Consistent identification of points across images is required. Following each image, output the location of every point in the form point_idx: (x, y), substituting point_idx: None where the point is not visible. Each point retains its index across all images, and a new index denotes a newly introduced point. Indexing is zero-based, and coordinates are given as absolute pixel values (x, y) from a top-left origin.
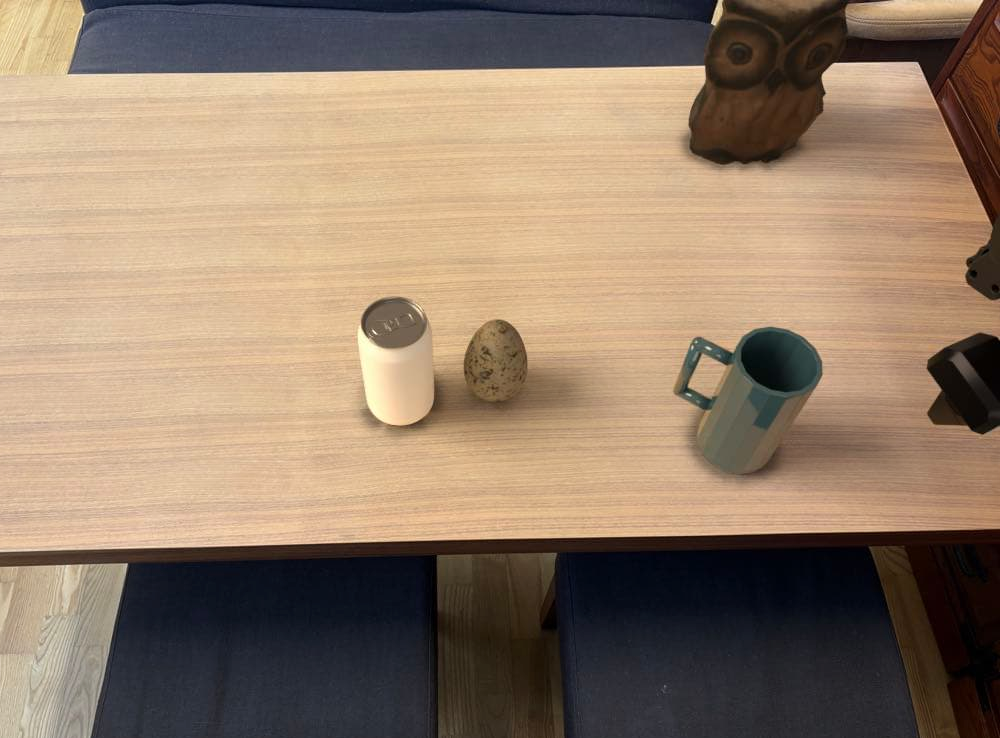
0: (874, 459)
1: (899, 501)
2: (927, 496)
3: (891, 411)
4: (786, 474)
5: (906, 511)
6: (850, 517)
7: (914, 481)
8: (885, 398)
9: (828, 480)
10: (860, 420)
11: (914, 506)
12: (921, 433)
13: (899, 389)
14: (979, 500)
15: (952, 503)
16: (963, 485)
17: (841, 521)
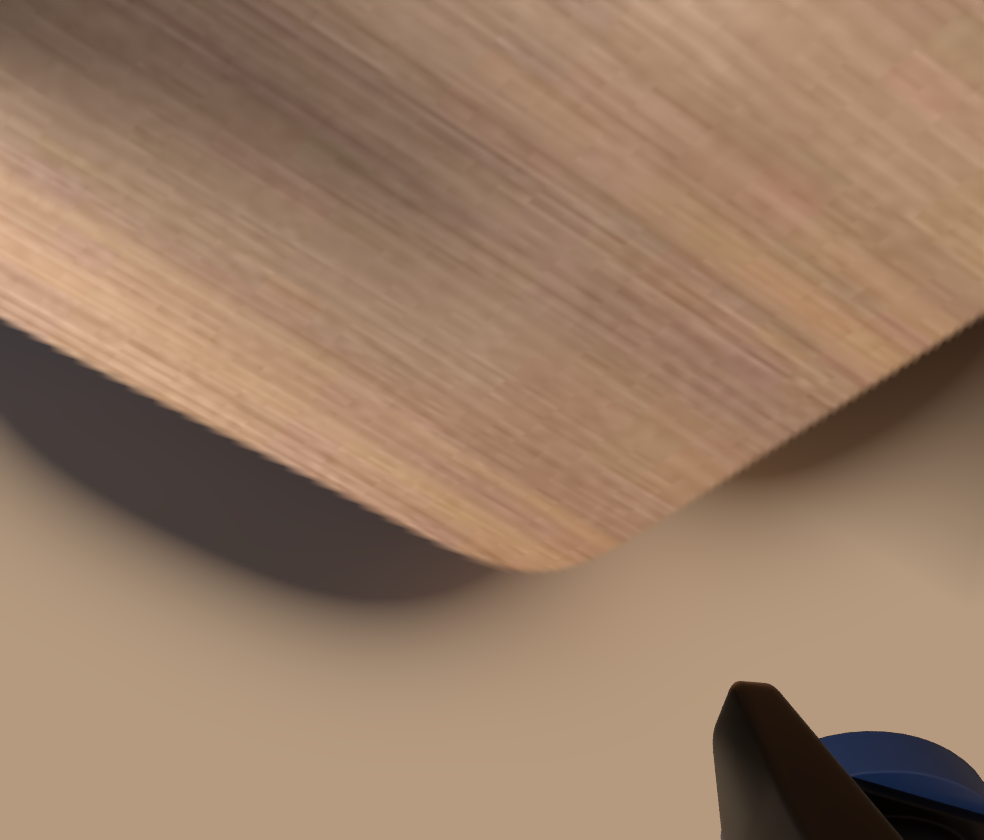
0: (374, 231)
1: (331, 400)
2: (433, 438)
3: (615, 98)
4: (3, 84)
5: (326, 437)
6: (131, 352)
7: (438, 376)
8: (650, 28)
9: (147, 200)
10: (461, 55)
11: (364, 439)
12: (631, 248)
13: (746, 26)
14: (574, 534)
15: (487, 496)
16: (576, 474)
17: (92, 346)
